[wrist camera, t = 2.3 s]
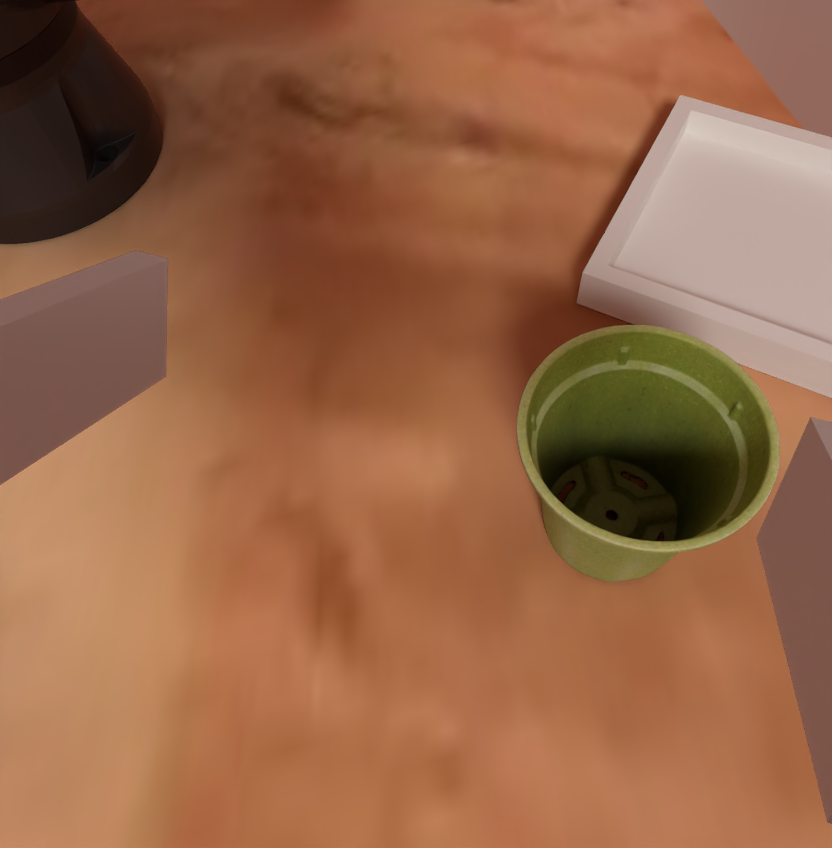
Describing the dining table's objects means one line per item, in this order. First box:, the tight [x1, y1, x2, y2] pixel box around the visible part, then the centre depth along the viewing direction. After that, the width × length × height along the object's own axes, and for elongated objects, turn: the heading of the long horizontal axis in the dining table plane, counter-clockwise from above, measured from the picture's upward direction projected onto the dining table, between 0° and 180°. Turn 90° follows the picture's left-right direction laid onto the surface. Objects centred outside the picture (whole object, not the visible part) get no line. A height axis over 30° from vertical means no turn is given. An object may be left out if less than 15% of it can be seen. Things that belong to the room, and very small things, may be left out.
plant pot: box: [516, 325, 780, 581], centre depth 32 cm, size 9×9×9 cm
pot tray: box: [576, 95, 832, 398], centre depth 42 cm, size 15×15×2 cm
